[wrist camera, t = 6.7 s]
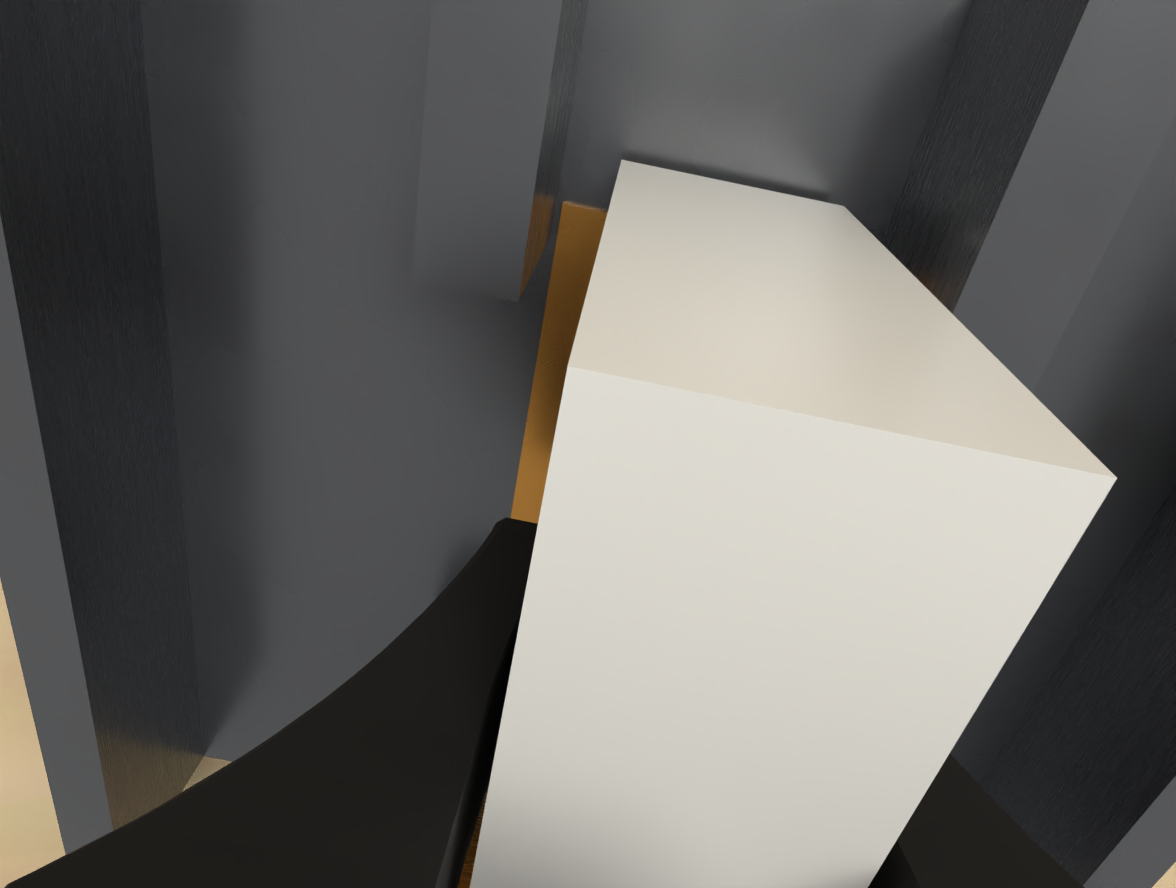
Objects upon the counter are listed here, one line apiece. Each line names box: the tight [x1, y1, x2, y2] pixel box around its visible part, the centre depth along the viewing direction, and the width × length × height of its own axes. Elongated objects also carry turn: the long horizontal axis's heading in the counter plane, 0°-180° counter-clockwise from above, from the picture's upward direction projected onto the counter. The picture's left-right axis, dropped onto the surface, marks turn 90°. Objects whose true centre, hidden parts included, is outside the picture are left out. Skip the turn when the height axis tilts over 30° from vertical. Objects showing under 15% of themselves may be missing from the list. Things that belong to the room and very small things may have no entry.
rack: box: [0, 0, 1176, 888], centre depth 12 cm, size 18×18×5 cm
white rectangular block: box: [470, 160, 1117, 888], centre depth 10 cm, size 10×3×7 cm, turn 169°
